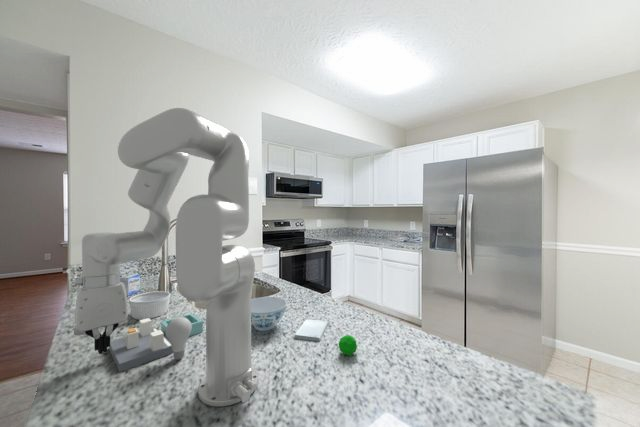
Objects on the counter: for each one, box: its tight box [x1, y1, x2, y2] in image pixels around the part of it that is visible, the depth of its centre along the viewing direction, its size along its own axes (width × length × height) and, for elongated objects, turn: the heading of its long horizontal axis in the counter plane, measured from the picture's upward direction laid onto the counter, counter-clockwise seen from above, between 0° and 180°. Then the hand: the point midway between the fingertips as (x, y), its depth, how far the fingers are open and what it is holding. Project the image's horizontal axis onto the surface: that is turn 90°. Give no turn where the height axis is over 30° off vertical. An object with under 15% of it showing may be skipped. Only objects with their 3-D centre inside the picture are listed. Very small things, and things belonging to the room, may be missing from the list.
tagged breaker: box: [124, 327, 139, 349], centre depth 72 cm, size 3×2×4 cm
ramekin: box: [128, 290, 171, 320], centre depth 99 cm, size 13×13×7 cm
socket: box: [160, 313, 204, 339], centre depth 84 cm, size 10×10×4 cm
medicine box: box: [120, 273, 141, 297], centre depth 124 cm, size 8×4×9 cm, turn 179°
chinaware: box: [251, 296, 288, 332], centre depth 88 cm, size 15×15×8 cm
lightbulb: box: [166, 316, 192, 361], centre depth 69 cm, size 6×6×11 cm
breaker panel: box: [108, 318, 173, 373], centre depth 73 cm, size 16×12×6 cm
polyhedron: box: [338, 334, 358, 356], centre depth 71 cm, size 5×5×5 cm
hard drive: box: [293, 318, 329, 342], centre depth 85 cm, size 2×8×12 cm
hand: (102, 351), depth 67 cm, fingers closed
